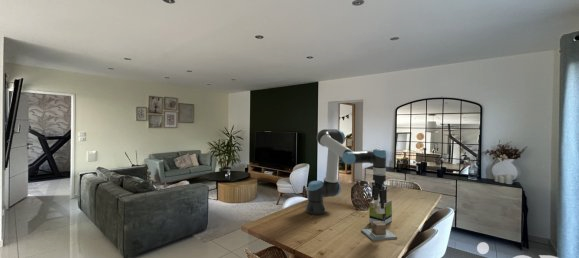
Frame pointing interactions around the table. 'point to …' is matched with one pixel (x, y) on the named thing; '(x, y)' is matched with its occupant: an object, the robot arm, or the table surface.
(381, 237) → the board
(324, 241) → the table surface
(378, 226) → the walnut cube
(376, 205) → the oak cube
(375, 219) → the tea box
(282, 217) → the table surface
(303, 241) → the table surface
